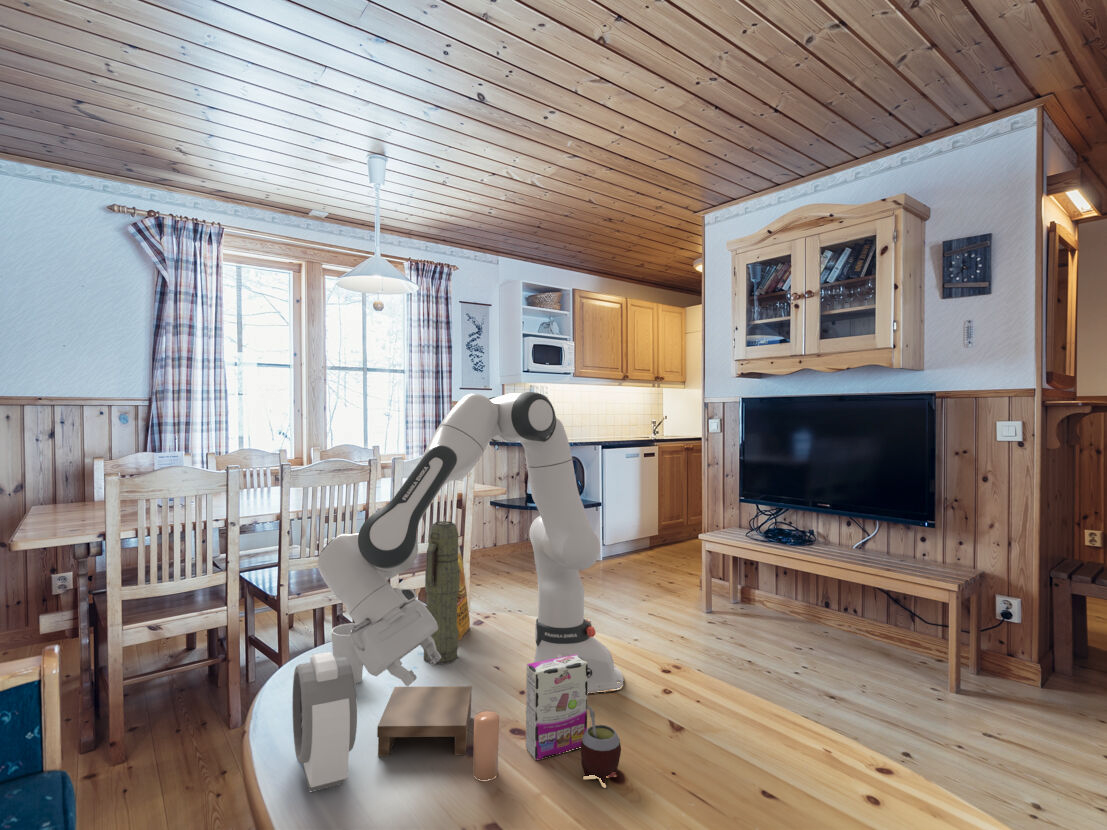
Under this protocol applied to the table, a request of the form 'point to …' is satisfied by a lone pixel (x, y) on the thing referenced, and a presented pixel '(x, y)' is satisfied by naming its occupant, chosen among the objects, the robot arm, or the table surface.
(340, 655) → the cup
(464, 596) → the pancake mix bag
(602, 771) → the mate gourd
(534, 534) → the robot arm
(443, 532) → the thermos
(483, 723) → the peach cylinder
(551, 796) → the table surface
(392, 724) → the walnut shelf
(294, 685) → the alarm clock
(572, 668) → the candy bar box
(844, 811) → the table surface
